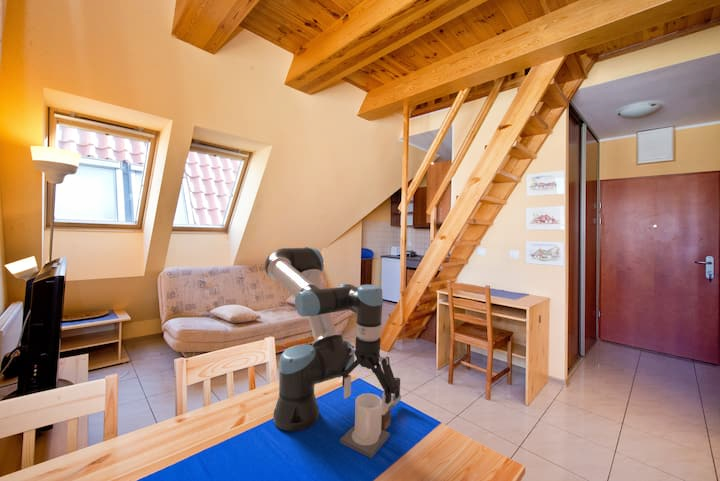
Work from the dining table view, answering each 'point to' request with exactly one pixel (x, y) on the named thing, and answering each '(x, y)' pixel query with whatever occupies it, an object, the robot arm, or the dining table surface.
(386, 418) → the mount
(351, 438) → the dock pad
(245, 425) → the dining table surface
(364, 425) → the mug
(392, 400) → the crank handle
